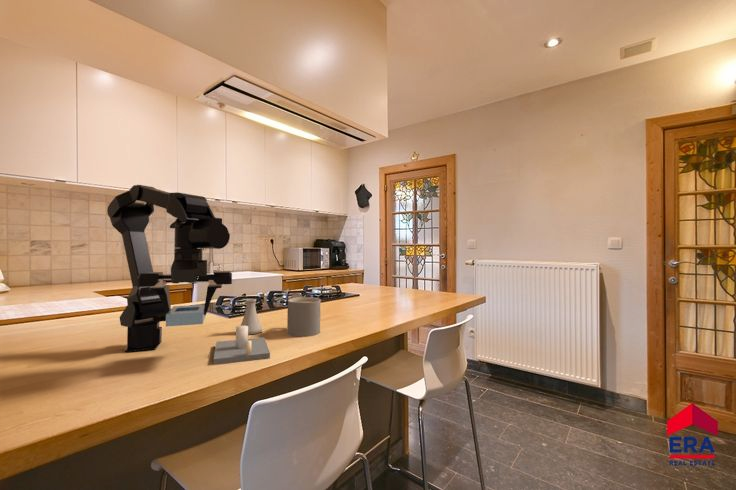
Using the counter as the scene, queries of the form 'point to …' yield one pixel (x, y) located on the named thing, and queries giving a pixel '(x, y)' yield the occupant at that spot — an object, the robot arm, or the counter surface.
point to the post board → (241, 348)
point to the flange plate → (185, 315)
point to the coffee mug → (303, 317)
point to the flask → (251, 318)
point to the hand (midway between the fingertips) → (187, 315)
